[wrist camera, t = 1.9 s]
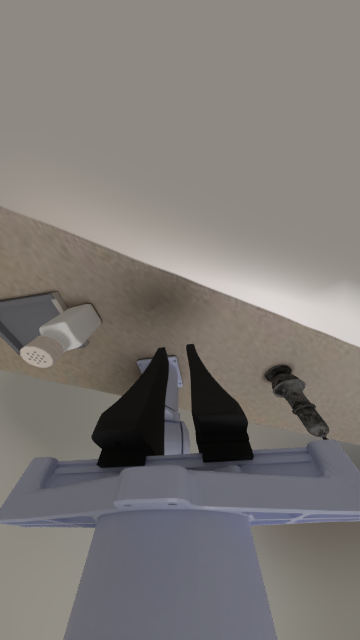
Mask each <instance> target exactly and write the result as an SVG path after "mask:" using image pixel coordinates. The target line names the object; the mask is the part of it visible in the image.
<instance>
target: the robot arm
mask: <svg viewBox="0 0 360 640" xmlns="http://www.w3.org/2000/svg"><path fill="white" fill-rule="evenodd" d="M186 350H187V356H188V362H189V367H190V377H191V402H192V416H193V421H194V425H195V430H196V441H197V442H196V443H197V445H198V450H199V453H195V454H190V440H189V432H188V428H187V426H186V425H185V423H184V422H183V421H180V413H178V387H182V386H183V383H182V379H181V374H180V370H179V366H178V361H177V357H176V356H169V357H167V353H166V349H165V347H163V348H158V350H157V351H156V353H155V355H154V357H153V358H152V359H143V360H138V361H137V364H138V366H139V369H140V371H141V373H142V375H141V376H140V378H139V379H138V380H137V381H136V382H135V384H134V385H133V386H132V387H131V388H130V389H129V390H128V391H127V392H126V393H125V394H124V395H123V396H122V397H121V398H120V399H119V400H118V401H117V402H116V403H115V404H113V405H112V406H111V407H110V408H108V409H107V410H106V411H105V412H103V413H102V414H101V416H100V418H99V420H98V423H97V425H96V427H95V429H94V432H93V434H92V440H93V441H94V442H95V443H96V444H97V445H98V446H99V447H100V448H102V451H101V454H100V457H99V459H94V460H93V459H92V460H76V461H58V460H57V459H55V458H52V457H40V458H34V459H33V460H32V461H31V463H30V464H29V466H28V467H27V469H26V470H25V472H24V474H23V475H22V477H21V478H20V480H19V481H18V483H17V484H16V486H15V487H14V489H13V490H12V492H11V493H10V495H9V497H8V498H7V499H6V501H5V502H4V504H3V505H2V507H1V508H0V524H7V525H14V526H21V527H83V528H86V527H87V528H88V527H89V528H95V532H94V535H93V539H92V542H91V546H90V549H89V552H88V556H87V559H86V563H85V566H84V570H83V573H82V577H81V580H80V584H79V587H78V591H77V594H76V597H75V601H74V604H73V608H72V611H71V615H70V618H69V622H68V626H67V629H66V632H65V635H64V639H63V640H277V636H276V632H275V628H274V623H273V619H272V615H271V611H270V607H269V603H268V599H267V594H266V591H265V586H264V582H263V578H262V574H261V570H260V566H259V561H258V558H257V553H256V549H255V545H254V541H253V537H252V533H251V528H250V526H255V525H275V524H294V523H313V522H334V521H335V522H337V521H360V471H359V470H358V469H357V467H356V466H355V465H354V464H353V462H352V461H351V460H350V458H349V457H348V456H347V454H346V453H345V452H344V450H343V449H342V448H341V447H340V445H339V444H338V443H337V441H335V440H318V441H312V442H309V443H308V444H307V447H299V448H281V449H264V450H252V449H251V446H250V443H249V437H248V434H247V426H248V420H247V418H246V416H245V414H244V412H243V410H242V408H241V407H240V405H239V404H238V402H237V401H236V400H235V399H233V398H232V397H231V396H230V395H229V394H228V393H227V392H226V391H225V390H224V389H223V388H222V387H221V386H220V385H219V384H218V383H217V382H216V381H215V379H214V378H213V377H212V376H211V374H210V373H209V372H208V370H207V369H206V368H205V366H204V365H203V363H202V361H201V360H200V358H199V356H198V354H197V352H196V349H195V346H194V344H188V345H186Z"/></svg>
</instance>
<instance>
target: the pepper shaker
mask: <svg viewBox="0 0 360 640" xmlns="http://www.w3.org/2000/svg"><path fill="white" fill-rule="evenodd" d="M101 323H102V322H101V319H100V318H99V316H98V315H97V313H96V311H95V310H94V308H93V306H92V305H91V304H84V305H80V306H76V307H72V308H69V309H67V310H66V311H64V312H63V313H61V314H60V315H58V316H56V317H55V318H53V319H52V320H50V321H49V322H47V323H46V324H44V325H42V326H41V327H40V328H39V330H40V334H41V336H38V337H37V338H35V339H34V340H33V341H31V342H30V343H28V344H27V345H26V346H24V347H23V348H21V349H20V355H21V356H22V358H23V359H24V360H25V361H26V362H28V363H30V364H31V365H34V366H37V367H43V368H47V367H49V366H51V365H53V364H54V363H55V362H56V361H57V360H58V359H59V358H60V357H61V356H62V355H63V354H64V353H65V351H66V350H71V349H75V348H78V347H80V346H81V345H83V344H84V342H85V341H86V340H87V339H88V338H89V337H90V336H91V335H92V334H93V333H94V331H95V330H96V329H97V328H98V327H99V326H100V325H101Z"/></svg>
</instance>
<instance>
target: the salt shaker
mask: <svg viewBox="0 0 360 640" xmlns="http://www.w3.org/2000/svg"><path fill="white" fill-rule="evenodd" d="M265 377H266V379H267V380H268V381H271V382H272V389H273V393H274V395H275V396H277V397H281V398H285V399H286V400H287V401H288V403H289V404H290V406H291V407H292V409H293V410H292V412H293V413H294V414H295V415H297V416H298V417H299V419H300V420H301V422H302V423H303V425H304V426H305V428H306V429H307V431H308V432H309V433H310V434H312V435H314V436H317V437H322V438H323V440H329V439H327V438H326V436H327V434H328V433H329V427H328V425H327V424H326V423H325V421H324V420H323V419H322V418H321V416H320V415H319V414H318V412H317V411H316V410H315V408H316V406H315V405H314V404H312V403H310V402H309V400H308V399H307V398H306V397H305V395H304V394H303V392H302V391H303V390H304V388H305V382H304V381H302V380H300V379H299V378H298V377H296V376H294V375H292V374H291V368H290V367H288V366H285V365H280V366H275V367H273V368H271V369H270V370H269V371H267V373H266V375H265Z"/></svg>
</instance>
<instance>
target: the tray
mask: <svg viewBox="0 0 360 640" xmlns="http://www.w3.org/2000/svg"><path fill="white" fill-rule="evenodd" d="M67 309H68V307H67V306H66V304H65V302H64V301H63V299H62V298H61V296H60V294H59V293H58V291H57V292H51V293H44V294H38V295H32V296H26V297H20V298H13V299H7V300H1V301H0V336H1V337H2V338H3V339H4V340H5V341H6V342H7V343H8V344H9V345H10V346H11V347H12V348H13V349H14V350H15V351H16V352H17V353H18V354H19V355H20V349H21V348H23V347H24V346H26V345H27V344H28V343H30V342H31V341H33V340H34V339H35V338H37V337H38V336H41V334H40V330H39V328H40V327H41V326H42V325H44V324H46V323H47V322H49V321H50V320H52V319H53V318H55V317H56V316H58V315H60V314H61V313H63V312H64V311H66V310H67ZM88 344H89V341H88V340H86V341H85V342H84V344H83V345H81V346H80V347H78V348H83V347H86V346H87V345H88Z"/></svg>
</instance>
